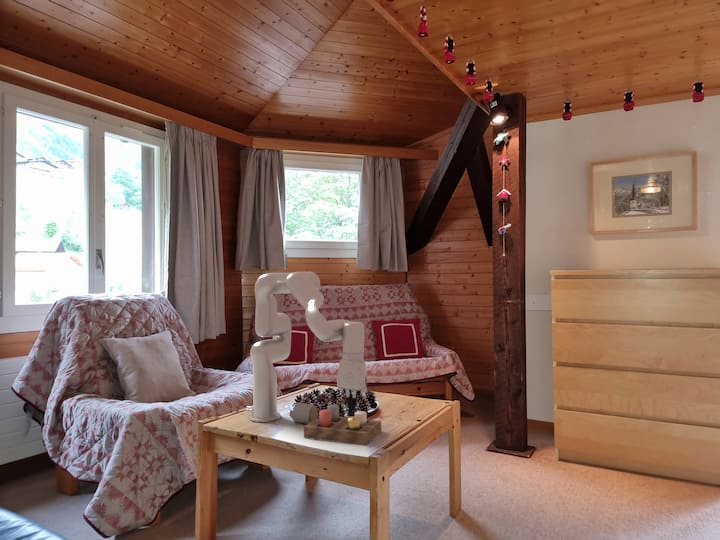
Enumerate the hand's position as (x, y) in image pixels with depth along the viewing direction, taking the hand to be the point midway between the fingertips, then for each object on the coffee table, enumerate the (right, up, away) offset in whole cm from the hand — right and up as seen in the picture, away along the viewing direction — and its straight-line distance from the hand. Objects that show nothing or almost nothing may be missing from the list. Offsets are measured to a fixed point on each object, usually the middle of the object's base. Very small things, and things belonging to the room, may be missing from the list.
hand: (351, 407), depth 183 cm
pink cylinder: (-10, -7, +3) cm, 13 cm away
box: (-3, -11, +5) cm, 12 cm away
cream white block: (+3, -9, +6) cm, 11 cm away
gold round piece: (+1, -9, 0) cm, 9 cm away
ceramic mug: (-18, -11, +21) cm, 30 cm away
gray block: (-7, -7, +10) cm, 14 cm away
